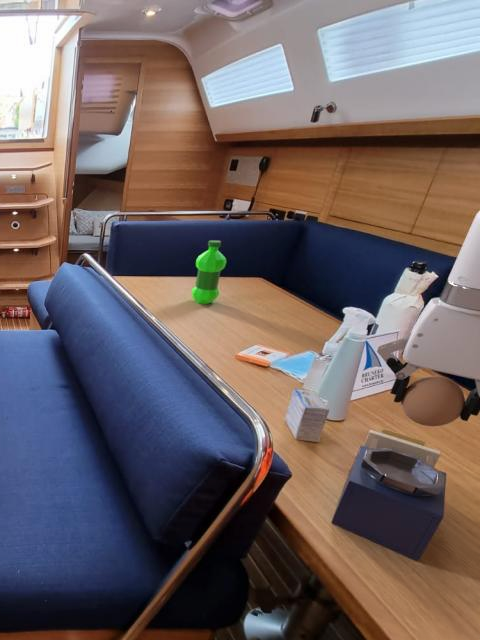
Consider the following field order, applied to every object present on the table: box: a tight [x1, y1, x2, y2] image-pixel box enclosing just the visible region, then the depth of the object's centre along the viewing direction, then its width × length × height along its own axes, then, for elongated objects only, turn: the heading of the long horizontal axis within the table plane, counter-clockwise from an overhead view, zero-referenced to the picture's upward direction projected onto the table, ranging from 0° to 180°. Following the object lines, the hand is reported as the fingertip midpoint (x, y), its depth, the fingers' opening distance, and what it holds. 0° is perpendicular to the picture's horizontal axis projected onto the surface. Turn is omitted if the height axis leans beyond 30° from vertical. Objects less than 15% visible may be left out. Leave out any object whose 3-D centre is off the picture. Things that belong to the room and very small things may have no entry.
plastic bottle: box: [191, 239, 228, 305], centre depth 167 cm, size 10×10×25 cm
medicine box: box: [284, 389, 330, 443], centre depth 93 cm, size 8×4×9 cm, turn 160°
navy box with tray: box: [330, 444, 447, 562], centre depth 70 cm, size 13×11×10 cm
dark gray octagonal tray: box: [361, 448, 445, 498], centre depth 68 cm, size 9×9×2 cm
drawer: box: [363, 427, 442, 468], centre depth 77 cm, size 17×9×8 cm, turn 133°
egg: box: [400, 375, 466, 427], centre depth 64 cm, size 6×6×8 cm
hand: (429, 406), depth 64 cm, fingers closed on egg, 6 cm apart
